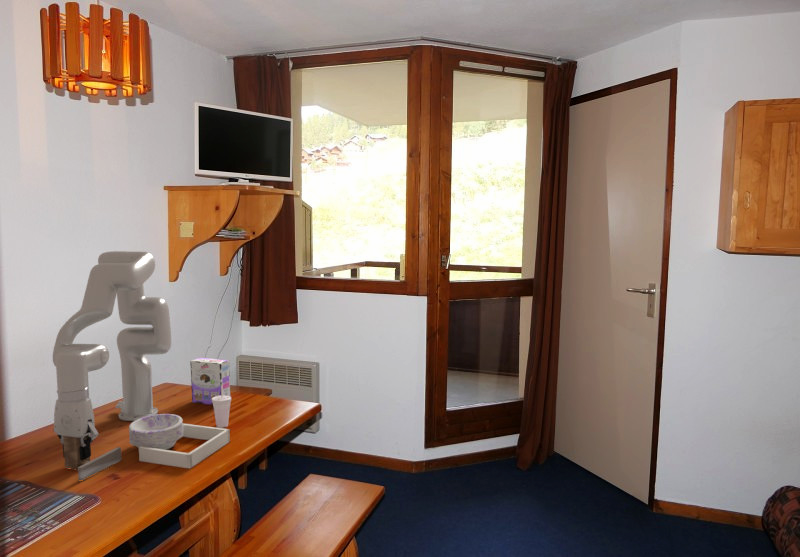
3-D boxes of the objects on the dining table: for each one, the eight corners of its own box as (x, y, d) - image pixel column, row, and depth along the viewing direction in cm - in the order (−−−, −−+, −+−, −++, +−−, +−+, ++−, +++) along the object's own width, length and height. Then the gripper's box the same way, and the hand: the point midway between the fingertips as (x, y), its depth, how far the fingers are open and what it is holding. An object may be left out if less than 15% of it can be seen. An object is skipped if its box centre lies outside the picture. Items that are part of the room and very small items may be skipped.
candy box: (231, 401, 216) (230, 359, 214) (221, 406, 210) (220, 363, 208) (201, 397, 220) (200, 356, 218) (191, 402, 215) (189, 360, 213)
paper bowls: (130, 461, 163) (129, 434, 162) (129, 442, 177) (127, 417, 176) (186, 451, 170) (185, 426, 169) (180, 434, 184) (179, 410, 183)
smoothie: (235, 422, 194) (234, 383, 192) (227, 429, 188) (226, 388, 186) (217, 421, 195) (216, 382, 193) (209, 428, 188) (207, 388, 187)
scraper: (50, 476, 153) (47, 440, 152) (91, 455, 167) (89, 422, 166) (82, 481, 150) (80, 445, 149) (121, 460, 164) (119, 426, 163)
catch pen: (139, 460, 163) (138, 447, 163) (183, 435, 182) (183, 423, 182) (189, 468, 159) (189, 454, 158) (229, 441, 178) (229, 429, 177)
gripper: (37, 395, 156) (41, 458, 158) (87, 401, 151) (91, 466, 153) (60, 387, 163) (64, 448, 165) (109, 393, 158) (112, 455, 160)
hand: (77, 456), depth 159 cm, fingers open, 5 cm apart
